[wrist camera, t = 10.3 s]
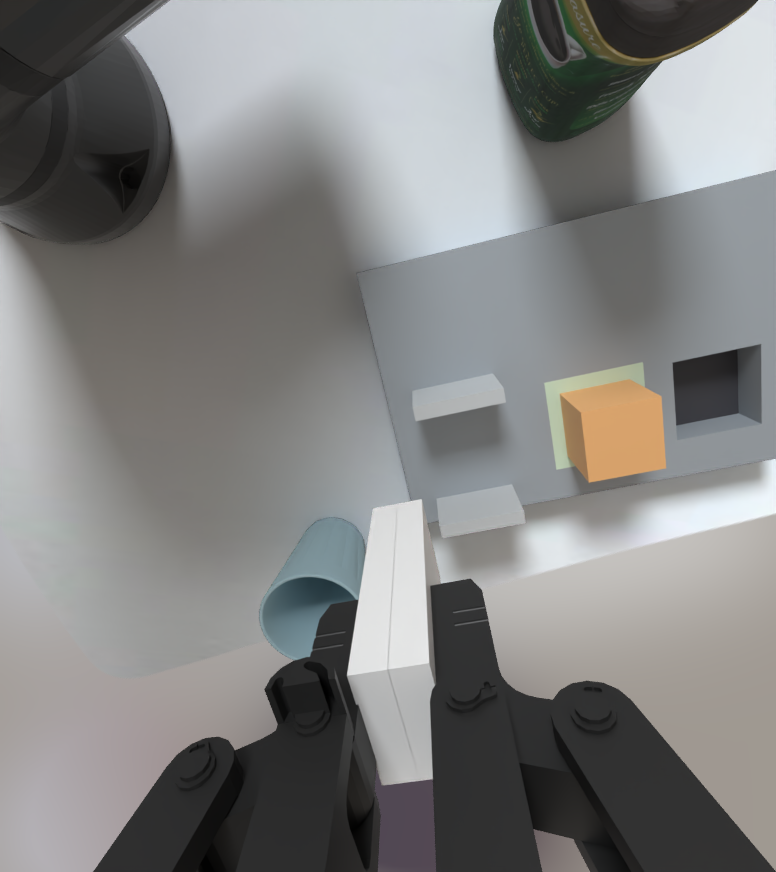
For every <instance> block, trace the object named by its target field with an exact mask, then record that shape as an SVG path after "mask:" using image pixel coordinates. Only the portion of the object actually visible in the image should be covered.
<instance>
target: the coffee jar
mask: <svg viewBox="0 0 776 872" xmlns="http://www.w3.org/2000/svg"><path fill="white" fill-rule="evenodd" d="M757 1H758V0H502V1H501V3H500V5H499V8H498V11H497V14H496V17H495V22H494V35H493V36H494V43H495V48H496V54H497V57H498V61H499V65H500V69H501V72H502V75H503V78H504V81H505V84H506V87H507V90H508V92H509V95H510V97H511V100H512V103H513V105H514V107H515V109H516V111H517V113H518V115H519V117H520V119H521V120H522V122H523V124H524V126H525V127H526V129H527V130H528V131H529V132H530V133H531V134H532V135H534V136H535V137H536V138H538V139H540V140H543V141H548V142H558V141H563V140H567V139H570V138H572V137H575V136H577V135H579V134H581V133H583V132H585V131H587V130H589V129H591V128H593V127H595V126H597V125H598V124H600V123H601V122H603V121H605V120H606V119H607V118H609V117H610V116H611V115H613V114H614V113H615V112H616V111H617V110H619V109H620V108H621V107H622V106H623V105H624V104H625V103H626V102H627V101H628V100H629V99H630V98H631V97H632V95H633V94H634V93H635V92H636V91H637V90H638V89H639V88H640V87H641V85H642V84H643V83H644V82H645V81H646V79H647V78H648V77H649V76H650V75H651V73H652V72H653V71H654V70H655V69H656V68H657V67H658V66H659V65H660V63H661V62H662V61H663V60H666V59H669V58H672V57H674V56H676V55H679V54H681V53H683V52H685V51H687V50H690V49H692V48H694V47H695V46H697V45H699V44H701V43H703V42H704V41H706V40H708V39H709V38H711V37H713V36H714V35H716V34H717V33H719V32H720V31H722V30H723V29H725V28H726V27H728V26H729V25H730V24H732V23H733V22H735V21H736V20H737V19H739V18H740V17H741V16H743V15H744V14H745V13H746V12H747V11H748V10H749V9H750V8H751V7H752V6H753V5H754V4H755V3H756V2H757Z"/></svg>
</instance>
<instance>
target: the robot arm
mask: <svg viewBox="0 0 776 872" xmlns="http://www.w3.org/2000/svg"><path fill="white" fill-rule="evenodd" d="M169 1H170V0H0V221H1V222H3V223H5V224H6V225H8V226H10V227H11V228H13V229H15V230H17V231H19V232H21V233H24V234H26V235H29V236H32V237H34V238H38V239H42V240H45V241H50V242H57V243H70V244H94V243H100V242H105V241H108V240H111V239H114V238H116V237H119V236H121V235H123V234H125V233H126V232H128V231H129V230H131V229H132V228H133V227H135V226H136V225H137V224H138V223H139V222H140V221H142V220H143V218H144V217H145V216H146V215H147V214H148V213H149V211H150V210H151V209H152V207H153V205H154V204H155V202H156V200H157V199H158V197H159V195H160V192H161V190H162V188H163V185H164V182H165V178H166V174H167V170H168V164H169V156H170V134H169V125H168V119H167V114H166V109H165V106H164V102H163V99H162V96H161V93H160V90H159V88H158V86H157V83H156V81H155V79H154V77H153V75H152V73H151V71H150V69H149V68H148V66H147V64H146V63H145V61H144V60H143V58H142V56H141V55H140V54H139V52H138V51H137V50H136V48H135V47H134V46H133V45H132V44H131V42H130V41H129V40H128V39H127V38H126V37H125V36H124V35H125V34H126V33H128V32H129V31H130V30H132V29H133V28H134V27H136V26H137V25H138V24H140V23H141V22H142V21H144V20H145V19H146V18H148V17H149V16H150V15H151V14H153V13H154V12H155V11H157V10H158V9H159V8H161V7H162V6H163V5H165V4H166V3H167V2H169ZM265 692H266V695H267V697H268V700H269V702H270V705H271V708H272V710H273V713H274V715H275V718H276V721H277V723H278V726H277V729H276V731H275V732H273V733H272V734H270V735H268V736H266V737H264V738H263V739H261V740H258V741H256V742H254V743H251V744H249V745H247V746H245V747H242V748H240V749H238V750H234V748H233V747H232V745H231V744H230V742H229V741H228V740H226V739H223V738H220V737H211V738H205V739H202V740H200V741H198V742H195V743H193V744H191V745H190V746H188V747H187V748H186V749H185V750H183V751H181V752H180V753H179V754H178V755H177V756H176V757H175V758H174V759H173V760H172V761H171V763H170V764H169V765H168V766H167V767H166V769H165V770H164V772H163V773H162V774H161V776H160V777H159V779H158V780H157V782H156V783H155V784H154V786H153V787H152V789H151V790H150V792H149V793H148V794H147V796H146V797H145V799H144V800H143V801H142V803H141V804H140V806H139V807H138V809H137V810H136V811H135V813H134V814H133V816H132V817H131V819H130V820H129V821H128V823H127V824H126V826H125V827H124V829H123V830H122V831H121V833H120V834H119V836H118V837H117V839H116V840H115V842H114V843H113V844H112V846H111V847H110V849H109V850H108V851H107V853H106V854H105V856H104V857H103V859H102V860H101V862H100V863H99V864H98V866H97V867H96V869H95V870H94V871H93V872H378V854H379V835H380V809H379V802H378V799H377V796H376V793H375V777H376V768H377V771H378V774H379V777H380V781H381V784H382V785H389V784H397V783H405V782H413V781H421V780H428V779H433V796H434V822H435V844H436V845H435V847H436V872H542V868H541V864H540V859H539V854H538V850H537V845H536V840H535V835H534V831H533V829H535V830H540V831H544V832H548V833H552V834H556V835H560V836H564V837H569V838H572V839H574V841H575V843H576V845H577V847H578V849H579V851H580V853H581V855H582V857H583V859H584V861H585V863H586V864H587V866H588V868H589V870H590V872H776V871H775V870H774V869H773V868H772V866H771V865H770V864H769V863H768V862H767V860H766V859H765V858H764V857H763V856H762V854H761V853H760V852H759V851H758V850H757V849H756V848H755V846H754V845H753V844H752V843H751V842H750V840H749V839H748V838H747V837H746V836H745V834H744V833H743V832H742V831H741V830H740V828H739V827H738V826H737V825H736V824H735V823H734V821H733V820H732V819H731V818H730V817H729V815H728V814H727V813H726V812H725V811H724V809H723V808H722V807H721V806H720V805H719V804H718V802H717V801H716V800H715V799H714V798H713V796H712V795H711V794H710V793H709V792H708V791H707V789H706V788H705V787H704V786H703V785H702V784H701V782H700V781H699V780H698V779H697V778H696V776H695V775H694V774H693V773H692V772H691V770H690V769H689V768H688V767H687V766H686V764H685V763H684V762H683V761H682V760H681V759H680V757H679V756H678V755H677V754H676V753H675V751H674V750H673V749H672V748H671V747H670V746H669V744H668V743H667V742H666V741H665V740H664V739H663V737H662V736H661V735H660V734H659V733H658V731H657V730H656V729H655V728H654V727H653V725H652V724H651V723H650V722H649V721H648V720H647V718H646V717H645V716H644V715H643V714H642V712H641V711H640V710H639V709H638V708H637V707H636V705H635V704H634V703H633V702H632V701H631V700H630V699H629V698H628V697H627V696H626V695H625V694H623V693H622V692H621V691H620V690H618V689H616V688H614V687H612V686H609V685H607V684H605V683H600V682H592V681H583V682H578V683H572V684H570V685H568V686H567V687H565V688H563V689H561V690H560V691H559V692H558V694H557V695H556V696H555V698H554V699H553V700H550V699H543V698H536V697H532V696H528V695H525V694H523V693H521V692H518V691H516V690H515V689H513V688H512V687H511V686H510V685H508V684H507V682H506V681H505V680H504V679H503V677H502V676H501V673H500V670H499V667H498V663H497V658H496V653H495V650H494V644H493V639H492V635H491V630H490V626H489V622H488V616H487V612H486V607H485V602H484V598H483V593H482V590H481V589H480V588H479V587H478V586H477V585H476V584H475V583H474V582H473V581H472V580H471V579H466V580H461V581H455V582H449V583H443V584H441V583H440V575H439V570H438V566H437V562H436V558H435V553H434V549H433V545H432V540H431V536H430V532H429V528H428V523H427V519H426V515H425V510H424V506H423V502H422V499H419V500H414V501H409V502H404V503H398V504H393V505H388V506H383V507H378V508H373V511H372V517H371V524H370V530H369V537H368V543H367V550H366V556H365V562H364V569H363V575H362V582H361V588H360V595H359V599H358V600H353V601H347V602H341V603H335V604H331V605H330V606H329V607H328V609H327V610H326V611H325V613H324V614H323V615H322V617H321V618H320V619H319V623H318V627H317V631H316V638H315V639H314V643H313V646H312V651H311V654H310V657H305V658H302V659H298V660H295V661H293V662H291V663H289V664H288V665H286V666H284V667H282V668H281V669H280V670H279V671H278V672H277V673H276V674H275V675H274V676H273V677H272V678H271V679H270V681H269V683H268V684H267V686H266V688H265Z"/></svg>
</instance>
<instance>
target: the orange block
mask: <svg viewBox="0 0 776 872" xmlns="http://www.w3.org/2000/svg"><path fill="white" fill-rule="evenodd" d="M560 401H561V409H562V417H563V425H564V432H565V440H566V448H567V456H568V457H569V458H570V460H571V461H572V462H573V463H574V465H575V466H576V467H577V468H578V470H579V471H580V472H581V473H582V475H583V476H584V477H585V478H586V480H587V481H588V482H589V483H590V482H595V481H601V480H606V479H612V478H617V477H622V476H628V475H633V474H639V473H644V472H649V471H655V470H660V469H665V468H666V458H665V442H664V427H663V411H662V396H660V395H658V394H656V393H654V392H652V391H651V390H649V389H647V388H645V387H643V386H641V385H639V384H638V383H636V382H634V381H632V380H630V379H628V380H623V381H618V382H613V383H609V384H604V385H599V386H594V387H589V388H584V389H580V390H575V391H570V392H565V393H560Z"/></svg>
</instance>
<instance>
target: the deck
mask: <svg viewBox="0 0 776 872" xmlns="http://www.w3.org/2000/svg"><path fill="white" fill-rule="evenodd" d="M357 277H358V282H359V286H360V290H361V294H362V298H363V302H364V307H365V311H366V315H367V319H368V323H369V327H370V331H371V336H372V340H373V344H374V348H375V352H376V356H377V361H378V365H379V369H380V373H381V377H382V381H383V386H384V390H385V394H386V398H387V402H388V406H389V411H390V415H391V419H392V423H393V427H394V431H395V435H396V440H397V444H398V448H399V452H400V456H401V460H402V465H403V469H404V473H405V477H406V481H407V485H408V490H409V494H410V498H411V501H414V500H419V499H422V502H423V506H424V510H425V515H426V519H427V523H432V522H437V521H439V527H440V531H441V536H442V538H448V537H453V536H459V535H464V534H470V533H475V532H481V531H486V530H492V529H497V528H503V527H508V526H514V525H519V524H525V523H526V520H525V514H524V510H523V508H522V506H523V505H529V504H534V503H539V502H545V501H550V500H556V499H561V498H566V497H572V496H577V495H582V494H588V493H593V492H599V491H604V490H609V489H615V488H620V487H625V486H631V485H636V484H642V483H647V482H652V481H658V480H663V479H669V478H674V477H679V476H685V475H690V474H695V473H701V472H706V471H712V470H717V469H722V468H728V467H733V466H739V465H744V464H749V463H755V462H760V461H765V460H771V459H776V170H774V171H770V172H766V173H762V174H758V175H754V176H750V177H746V178H742V179H738V180H734V181H730V182H725V183H721V184H717V185H713V186H709V187H705V188H701V189H697V190H693V191H689V192H685V193H681V194H677V195H673V196H669V197H664V198H660V199H656V200H652V201H648V202H644V203H640V204H636V205H632V206H628V207H624V208H620V209H616V210H612V211H607V212H603V213H599V214H595V215H591V216H587V217H583V218H579V219H575V220H571V221H567V222H563V223H559V224H555V225H551V226H546V227H542V228H538V229H534V230H530V231H526V232H522V233H518V234H514V235H510V236H506V237H502V238H498V239H494V240H489V241H485V242H481V243H477V244H473V245H469V246H465V247H461V248H457V249H453V250H449V251H445V252H441V253H437V254H433V255H428V256H424V257H420V258H416V259H412V260H408V261H404V262H400V263H396V264H392V265H388V266H384V267H380V268H376V269H371V270H367V271H363V272H359V273H357ZM628 379H630V380H632V381H634V382H636V383H638V384H639V385H641V386H643V387H645V388H647V389H649V390H651V391H652V392H654V393H656V394H658V395H660V396H662V411H663V427H664V442H665V458H666V468H665V469H660V470H655V471H649V472H644V473H639V474H633V475H628V476H622V477H617V478H612V479H606V480H601V481H595V482H590V483H589V482H588V481H587V480H586V478H585V477H584V476H583V475H582V473H581V472H580V471H579V470H578V468H577V467H576V466H575V465H574V463H573V462H572V461H571V460H570V458H569V457H568V456H567V448H566V440H565V432H564V425H563V417H562V409H561V401H560V393H565V392H570V391H575V390H580V389H584V388H589V387H594V386H599V385H604V384H609V383H613V382H618V381H623V380H628Z"/></svg>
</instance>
